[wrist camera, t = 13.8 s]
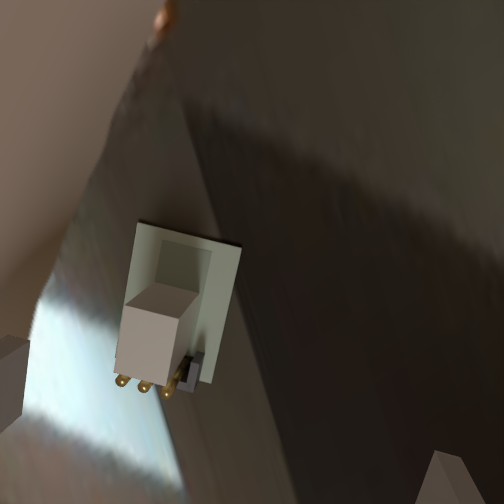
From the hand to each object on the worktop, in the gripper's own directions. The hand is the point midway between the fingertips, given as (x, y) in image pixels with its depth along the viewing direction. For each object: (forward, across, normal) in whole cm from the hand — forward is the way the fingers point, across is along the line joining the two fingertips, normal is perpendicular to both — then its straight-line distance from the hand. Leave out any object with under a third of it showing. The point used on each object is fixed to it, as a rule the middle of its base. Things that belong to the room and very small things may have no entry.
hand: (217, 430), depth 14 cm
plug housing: (+26, -8, -8) cm, 29 cm away
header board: (+27, -8, -7) cm, 29 cm away
